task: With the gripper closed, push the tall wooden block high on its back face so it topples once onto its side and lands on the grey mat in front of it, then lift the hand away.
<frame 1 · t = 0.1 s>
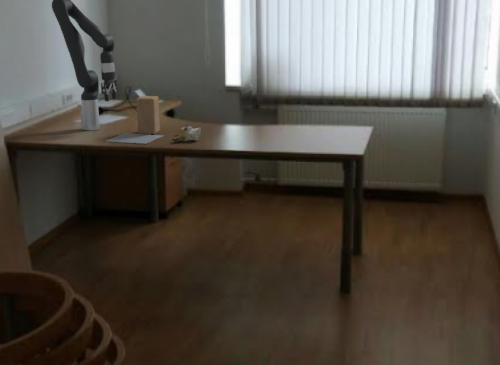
hand: (110, 100, 438), 17 cm above the table, fingers open, 8 cm apart
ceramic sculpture: (187, 141, 412), on the table
wooden block: (149, 133, 434), on the table
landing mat: (135, 138, 419), on the table
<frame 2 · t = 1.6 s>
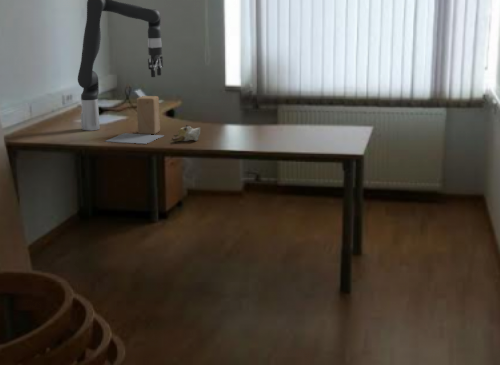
hand: (156, 76, 437), 30 cm above the table, fingers open, 7 cm apart
nothing on the table moved.
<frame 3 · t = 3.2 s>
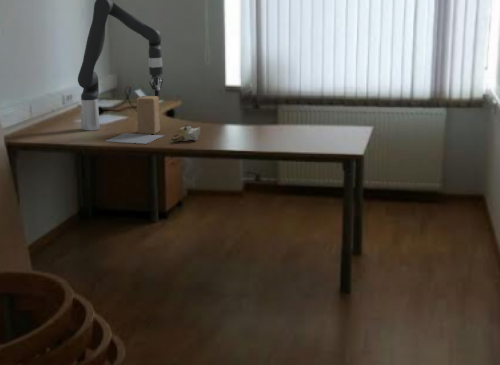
hand: (157, 96, 440), 18 cm above the table, fingers closed
nothing on the table moved.
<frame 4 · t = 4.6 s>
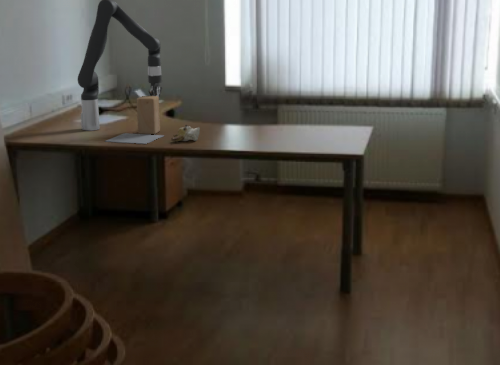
hand: (156, 105, 440), 14 cm above the table, fingers closed
nothing on the table moved.
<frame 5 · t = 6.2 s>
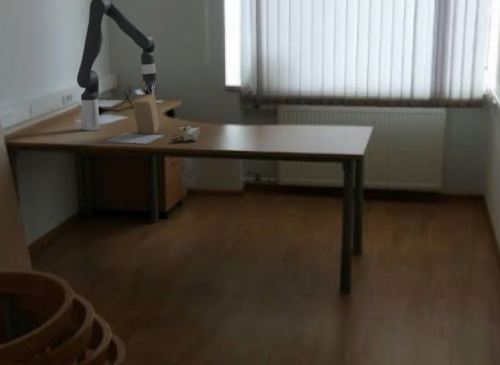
hand: (151, 103, 431), 16 cm above the table, fingers closed
wooden block: (149, 130, 433), point 1 cm above the table, touching hand
everything else where it was.
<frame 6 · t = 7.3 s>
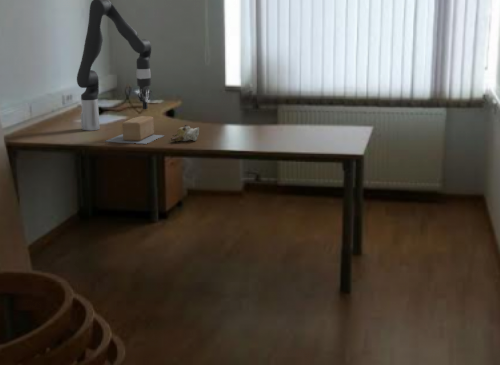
hand: (145, 108, 427), 14 cm above the table, fingers closed
wooden block: (145, 124, 428), point 5 cm above the table, touching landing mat
everything else where it was.
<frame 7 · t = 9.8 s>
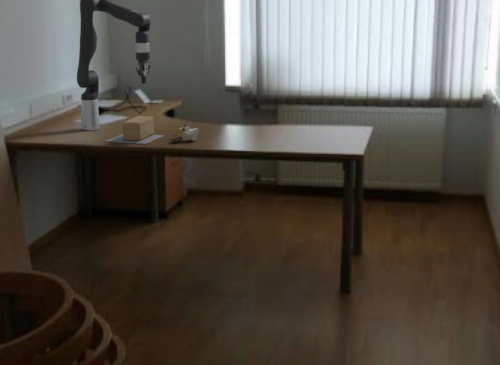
hand: (143, 83, 426), 28 cm above the table, fingers closed
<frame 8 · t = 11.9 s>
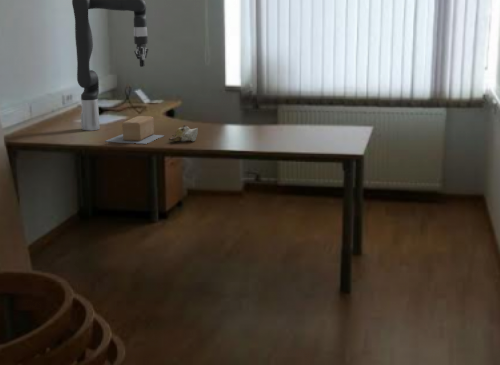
hand: (142, 66, 440), 35 cm above the table, fingers closed
at the end: wooden block tilted 90°; wooden block touching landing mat; wooden block inside the target area (1.4 cm from its centre), point 5.4 cm above the table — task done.
